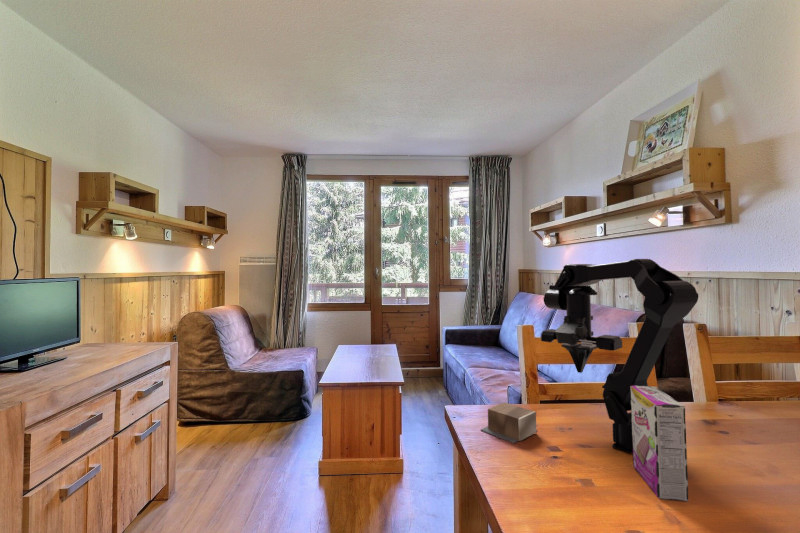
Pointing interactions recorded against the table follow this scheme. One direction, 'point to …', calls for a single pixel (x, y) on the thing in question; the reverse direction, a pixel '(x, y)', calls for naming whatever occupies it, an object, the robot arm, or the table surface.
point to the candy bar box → (659, 442)
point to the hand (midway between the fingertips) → (580, 372)
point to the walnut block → (512, 421)
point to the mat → (499, 435)
